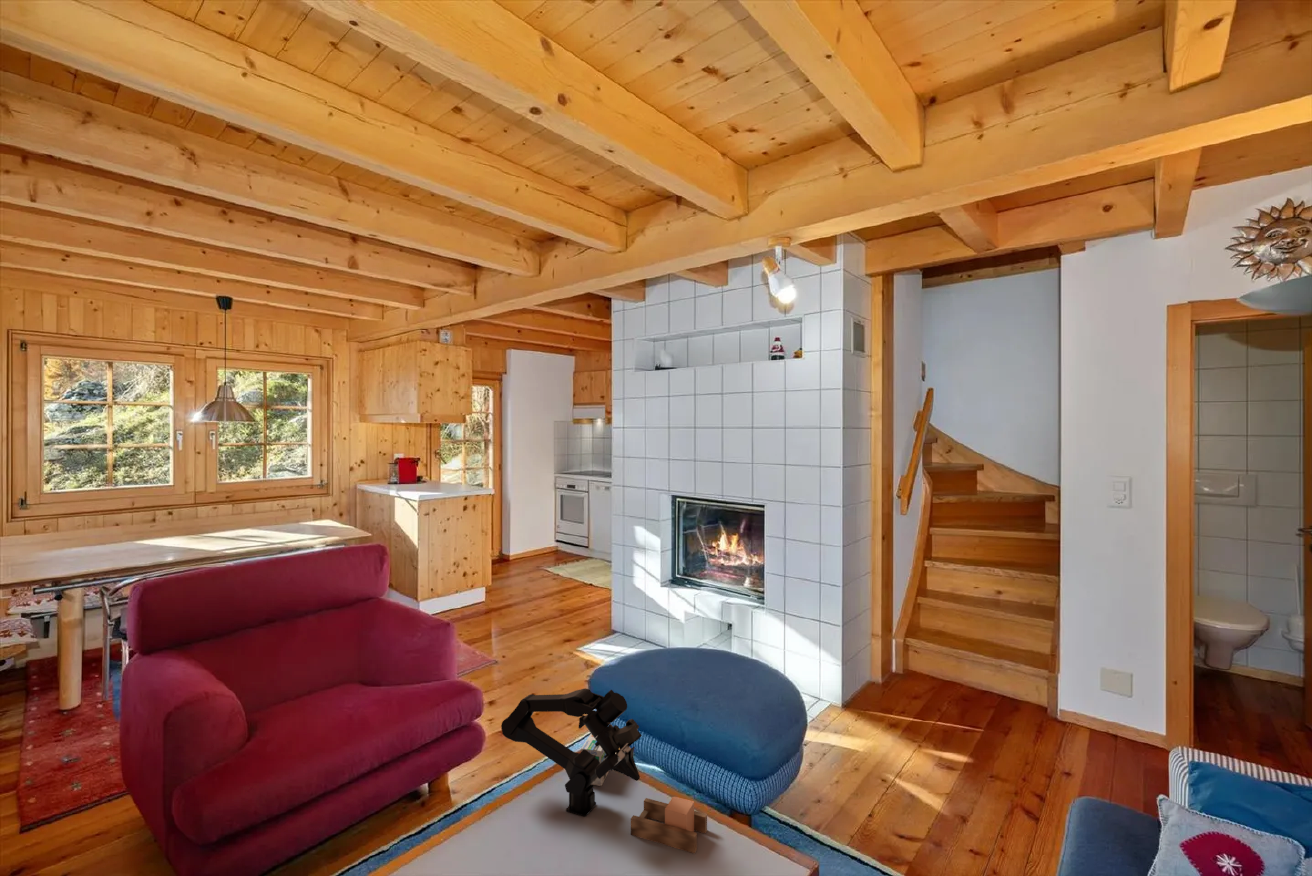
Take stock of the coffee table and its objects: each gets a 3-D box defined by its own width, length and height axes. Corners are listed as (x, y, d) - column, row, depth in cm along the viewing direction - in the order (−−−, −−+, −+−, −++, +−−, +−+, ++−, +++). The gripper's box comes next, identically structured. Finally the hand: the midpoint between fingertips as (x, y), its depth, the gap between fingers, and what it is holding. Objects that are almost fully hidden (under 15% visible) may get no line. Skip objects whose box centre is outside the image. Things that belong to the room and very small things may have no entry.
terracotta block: (664, 839, 157) (664, 809, 157) (673, 825, 163) (673, 796, 163) (686, 845, 155) (686, 814, 155) (694, 831, 160) (694, 801, 160)
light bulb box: (601, 787, 181) (601, 751, 181) (580, 784, 182) (580, 749, 182) (611, 767, 192) (611, 734, 192) (591, 765, 193) (591, 731, 193)
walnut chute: (630, 835, 159) (630, 818, 159) (645, 814, 168) (645, 798, 168) (694, 854, 152) (694, 836, 152) (707, 830, 161) (707, 814, 161)
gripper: (605, 729, 157) (643, 781, 153) (635, 701, 174) (670, 746, 170) (579, 753, 160) (615, 805, 156) (611, 722, 177) (645, 768, 173)
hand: (638, 779), depth 164 cm, fingers closed
